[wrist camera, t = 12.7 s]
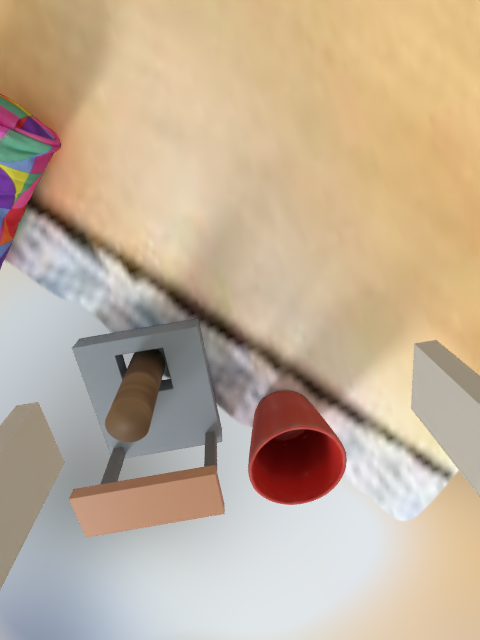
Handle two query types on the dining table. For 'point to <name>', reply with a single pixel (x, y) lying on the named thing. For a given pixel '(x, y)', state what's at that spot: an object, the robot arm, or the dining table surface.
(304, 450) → the flower pot
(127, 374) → the dowel
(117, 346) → the socket board
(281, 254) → the dining table surface
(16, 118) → the pencil case
